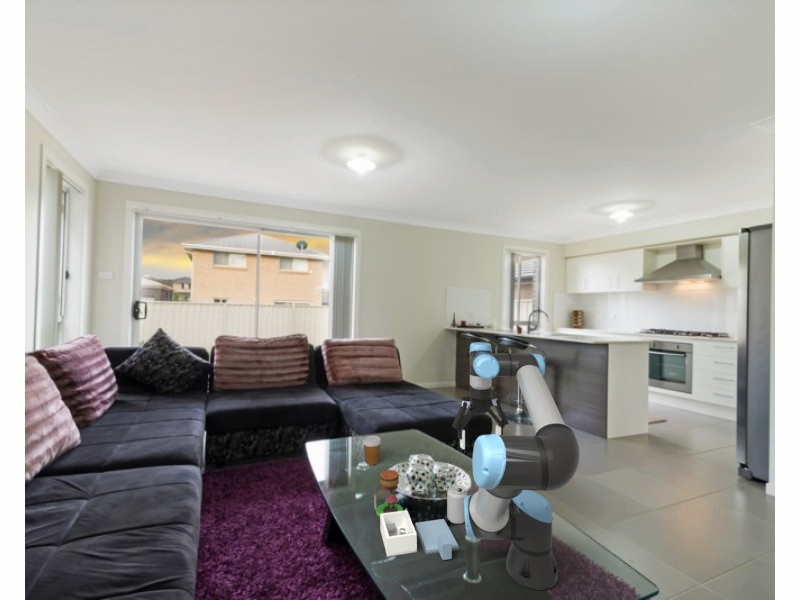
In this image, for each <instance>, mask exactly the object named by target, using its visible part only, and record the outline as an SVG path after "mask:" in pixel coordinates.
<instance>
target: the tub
mask: <svg viewBox="0 0 800 600" xmlns="http://www.w3.org/2000/svg"><path fill="white" fill-rule="evenodd" d="M379 518H380V520H379V521H380V524H379V526H380V527H379V528H380V530H379V531H380V534H381V538H382V541H383V546H384V549H385V553H386V556H387V558H388V557H393V556H398V555H407V554H413V553H417V552H418V544H417V543H418V538H417V537H418V535H417V532H416V530H415V527H414V526H415V525H414V524H413V522H412V519H411V516H410V513H409V511H408V510H403V511H398V512H390V513H382V514H380V517H379ZM391 523H395V525H396V528H397V536H390V537H389V535H388V531H387V524H391ZM400 528H405V529H406V534H404V535H400Z"/></svg>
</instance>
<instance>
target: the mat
mask: <svg viewBox="0 0 800 600" xmlns="http://www.w3.org/2000/svg"><path fill="white" fill-rule="evenodd" d="M447 523H448V522H446V524H447ZM413 526H414V529H415V531H416V534H417V537H418V539H419V541H420V545H421V546H422V549H423V551H424V554H425V556H429V555H433V554H440V553H439V551H434V552H426V549H425V547H424V544H423V542H422V540H421V537H420V535H419V532H418V530H417V528H416V525H413ZM447 526H448V527H449V525H448V524H447ZM452 535H453V536H454V534H453V533H452ZM457 544H458V542H457ZM459 550H461V547H460V546H459V544H458V548H453V549H452V551H453V552H454V551H459Z"/></svg>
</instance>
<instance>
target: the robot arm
mask: <svg viewBox="0 0 800 600" xmlns="http://www.w3.org/2000/svg"><path fill="white" fill-rule="evenodd" d="M545 373H546V362H545V358H544V356H543V355H542V354H539V353H531V352H530V353H529V352H528V353H503V352H502V353H500V352H499V353H498V352H497V353H496V352H494V353H493V350H492V345H491V343H489V342H481V341H480V342H478V341H477V342H472V343H470V345H469V386H470V387H469V401H466V400H464V399H462V400H461V402H460V407H459V409H458V411H457V414H456V416H455V419H454V420H453V423H452V424H451V426H452V427H453V428H454V429H455V430H457V438H458V439H459V447H460V448H461V450H465V449H466V430H465V427H466V426H468V423H469V422H470V421H471V419H472V418H473V417H474V416H476V414H477V415H479V414H486V413H488V414H489V416H490V417H491V418H492V419H493V420H494V421H495V423H496V424H495V433H491V434H482V435H479V436H478V437H477V438H476V440H475V441H474V445H473V453H472V460H471V461H472V462H471V463H472V475H473V480H474V482H475V484H476V486H477V487H478V490H477V491H475V493H473V495H472V494H469V495H467V496H465V497H464V515H465V522H464V523H465V533H466V536H467V537H468V538H469V539H475V540H496V541H497V540H498V541H511V544H510V546H509V550H508V553H507V555H506V561H505V562H506V563H505V564H506V566H505V567H506V571H507V573H508V575H509V576H510V578H511V579H513V580H514V581H515V582H516V583H518V584H519V585H521V586H523V587H525V588H528V589H531V590H539V591H543V590H549V589H551V588H553V587H555V586H556V584H557V583H558V580H559V570H558V565H557V562H556V559H555V555H554V553H553V520H554V517H553V510H552V509H553V508H552V505H551V503H550V501H548V499H547V498H546V497H544V496H543V495H542V494H539V493H538V492H536V491H541V492H543V491H544V492H550V491H551V492H552V491H556V490H558V489H561V488H563V487H565V486H566V485H568V483H569V482H570V481H571V480H572V479H573V477H574V476H575V474H576V473H577V469H578V467H579V463H580V456H581V455H580V445H579V442H578V439H577V437H576V435H575V432H574V431H573V429H572V428H571V427H570V426H569V425H567V424H566V423H565V421H564V419H563V416H562V415H561V413H560V411H559V409H558V406H557V404H556V402H555V400H554V398H553V396H552V394H551V391H550V388H549V386H548V385H547V382H546V381H545V378H544V376H545ZM496 377H497V378H499V377H500V378H516V380H517V382H518V386H519V388H520V392H521V394H522V397H523V399H524V402H525V406H526V409H527V411H528V415H529V417H530V420H531V423H532V426H533V428H534V432H535V434H534V435H515V434H514V435H513V434H512V435H510V434H509V435H508V434H507V435H505V434H504V428H505V427H506V426H507V425H509V421H508V419H507V416H506V415H505V412H504V411H503V409H502V406H501V401H500V399H498V398H497V397H494V398H493V399H492V394H493V393H492V390H493V388H492V386H493V385H492V382H493V381H492V379H494V378H496ZM492 405H493V406H494V407H495V409H496V412H497V413H498V415H497V414H495V412H494V411H493V409H492ZM467 409H468V410H467ZM466 411H467V412H466ZM465 413H466V414H465ZM498 416H499V417H498Z"/></svg>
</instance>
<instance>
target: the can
mask: <svg viewBox="0 0 800 600" xmlns="http://www.w3.org/2000/svg"><path fill="white" fill-rule="evenodd" d="M446 492H447V493H446V495H447V496H446V498H447V499H446V503H447V505H446V506H447V507H446V518H447V520H449V521H450V522H451V523H452V524H454V525H462V524H463V523H465V515H464V497H465V496H468V491H466V488H465V486H463V485H461V484H452V485H450V486H449V487H448V489H447V491H446Z"/></svg>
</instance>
